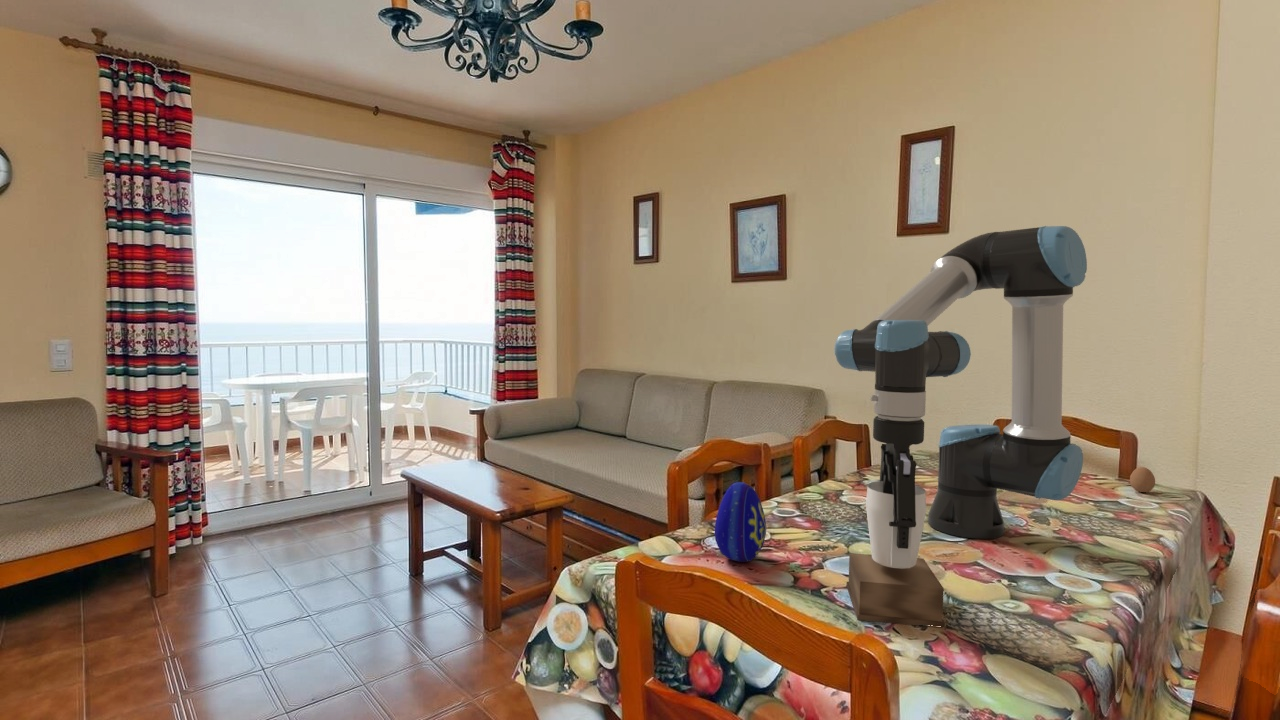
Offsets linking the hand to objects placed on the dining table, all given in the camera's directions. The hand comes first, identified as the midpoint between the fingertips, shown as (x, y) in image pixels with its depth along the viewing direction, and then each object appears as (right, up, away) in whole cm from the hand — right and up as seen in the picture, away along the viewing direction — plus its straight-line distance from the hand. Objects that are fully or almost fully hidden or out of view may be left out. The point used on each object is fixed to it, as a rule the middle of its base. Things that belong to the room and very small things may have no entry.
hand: (894, 555), depth 102 cm
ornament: (-22, -7, +20) cm, 30 cm away
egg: (+96, -5, +70) cm, 118 cm away
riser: (0, -8, 0) cm, 8 cm away
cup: (0, -1, 0) cm, 1 cm away
